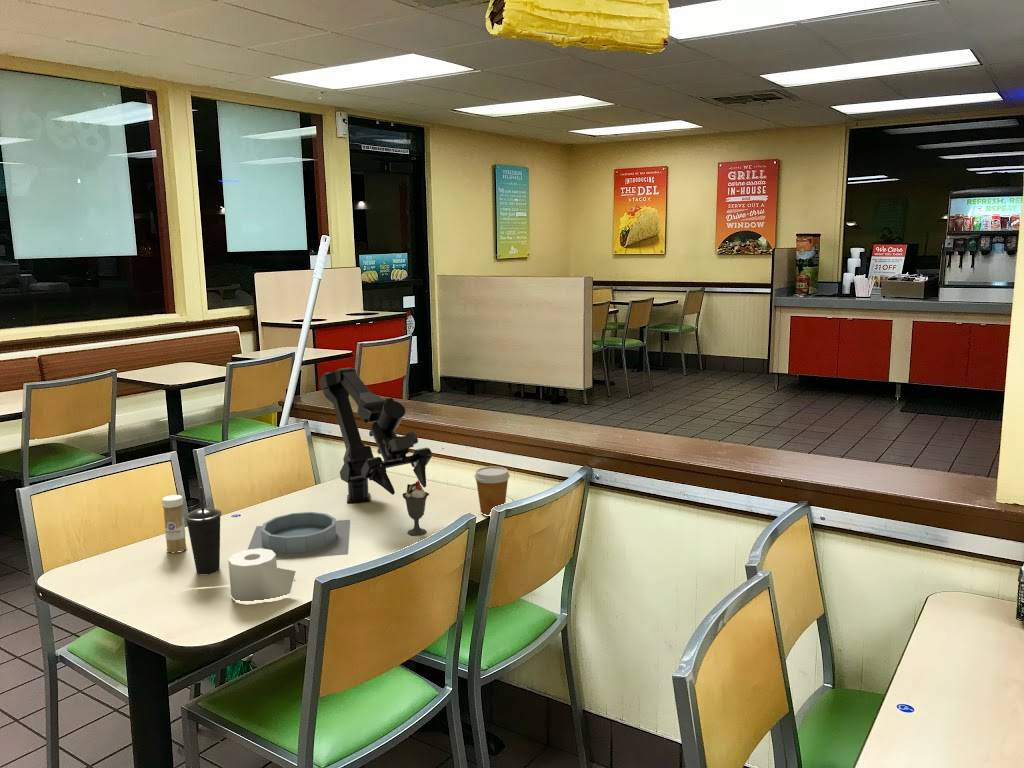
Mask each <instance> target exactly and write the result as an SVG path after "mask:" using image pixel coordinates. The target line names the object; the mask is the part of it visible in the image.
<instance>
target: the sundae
mask: <svg viewBox="0 0 1024 768" xmlns="http://www.w3.org/2000/svg"><path fill="white" fill-rule="evenodd" d="M420 478H421V479H422V477H420ZM420 478H419V479H420ZM419 479H418V478H417V480H416V482H415V483H412V484H409V483H408V484H407V486H406V492H403V493H402V498H403V499H404V500H405V504H406V511H407V514H408V516H409V518H411V519H412V520H413V521H414V522H413V523H414V525H413V528H411V529H410V528H409V530H408V531H407V532H406V534H407V535H409V536H413V537H414V536H415V537H419V536H423V535H425V534H426V533H427V530H426V529H425V528H422V527H420V520H421V518H423V516H424V515H425V511H426V501H427V498H428V496H429V495H430V493H429V492H427V491H425V490H424V487H423V486H422V485H421V483H420V481H419Z"/></svg>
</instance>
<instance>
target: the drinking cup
mask: <svg viewBox="0 0 1024 768" xmlns="http://www.w3.org/2000/svg"><path fill="white" fill-rule="evenodd" d="M198 488H199V500H200V508H197V509H194V510H192V511H191V512H188V513H187V514H185V516H184V521H186V524H187V530H188V535H189V539H190V544H191V550H192V555H193V561H194V566H195V570H196V571H195V572H196V574H197V573H199V574H198V575H200V574H208V575H212V574H211V573H213V574H215V573H217V572H219V571H218V570H220V568H221V567H220V566H221V565H220V563H221V561H220V559H221V554H220V553H221V516H222V511H221V510H220V509H217V508H212V507H205V499H204V490H203V489H204V488H203V486H199V487H198ZM216 571H217V572H216ZM214 572H215V573H214Z"/></svg>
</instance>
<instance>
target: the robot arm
mask: <svg viewBox="0 0 1024 768" xmlns="http://www.w3.org/2000/svg"><path fill="white" fill-rule="evenodd" d="M318 382H319V383H318V384H319V387H320V389H321V390H322V393H323V395H324V397H325V398H326V399H327V400H328V401H329V402H331V404H332V405H333V406H332V407H333V409H334V412H335V415H336V420H337V422H338V426H339V429H340V432H341V436H342V439H343V443H344V446H345V453H344V455H343V459H342V460H343V464H342V467H341V469H340V470H339V476H340V477H339V478H340V481H341V480H342V481H343V482H345V483H347V491H348V492H347V495H346V496H347V497H346V503H348V504H349V503H364V502H365V503H366V502H368V503H369V502H370V501H371V492H369V481H373V482H375V483H376V484H378V485H380V486H381V487H382V488H383V489H384V490H385V491H387V492H388V493H389V494H391V495H393V496H394V494H395V493H396V492H395V488H394V485H393V484H392V482H391V479H390V478H389V476H388V473H387V469H388V468H393V467H399V466H404V465H408V464H410V465H411V467H413V470H412V471H413V473H414V474H415V476H416V478H417V480H418V479H419V478H420V477H422V479H421V478H420V479H419V480H418V481H419V482H420V485H421V486H422V488H423V489H425V488H426V487H427V476H426V466H427V465H428V464H429V462H430V460H431V459H432V458H433V456H434V454H433V453H432V450H431V449H430V448H429V447H421V448H417V449H415V450H414V452H413V454H412V455H408V454H409V453H410V449H411V448H413V447H415V445H416V444H418V443H419V439H418V436H417V434H416V432H415V431H410V432H408V433H406V434H405V435H402V436H400V435H399V436H398V435H397V433H396V430H397V428H398V427H399V425H400V423H401V421H402V420H403V418H404V416H405V415H406V409H405V406H404V405H403V404H402V403H400V402H398V401H396V400H394V398H393V397H388V398H385V399H384V398H383V397H382V396H380V395H378V394H374V393H372V392H371V391H370V389H369V388H368V387H367V385H366V384H365V383H364V381H362V379H361V378H360V377H359V376H358V374H357V370H356V369H355V368H354V367H344V368H338V369H337V370H335V371H332V372H325V373H323V374H322V375H321V377H320V378H319V380H318ZM349 396H350V397H351V398H352V400H353V401H354V402H355V403H356V404H357V415H358V416H359V419H360V420H361V421H362V422H363V424H367V423H369V424H370V423H372V425H371V426H370V428H369V429H370V430H369V433H368V434H369V437H373V440H374V441H375V443H376V445H377V454H378V455H381V456H382V457H380V456H374V454H373V450H372V448H371V446H370V445H366V444H364V443H363V441H362V437H361V433H360V431H359V428H358V424H357V421H356V418H355V414H354V411H353V408H352V405H351V401H350V397H349ZM407 455H408V456H407Z"/></svg>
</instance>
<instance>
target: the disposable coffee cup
mask: <svg viewBox="0 0 1024 768" xmlns="http://www.w3.org/2000/svg"><path fill="white" fill-rule="evenodd" d="M510 475H511V474H510V473H509V471H508V468H505V467H501V466H490V465H489V466H483V467H480V468H477V469H476V470H475V474H474V476H473V477H474V479H475V481H476V488H477V494H478V495H477V496H478V501H479V507H480V513H481V512H482V513H483V514H486V515H489V514H490V512H491V509H492V508H493V507H495V506H498V505H501V504H504V503H505V504H506V500H507V492H508V491H507V490H508V482H509V478H510V477H511V476H510Z"/></svg>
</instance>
